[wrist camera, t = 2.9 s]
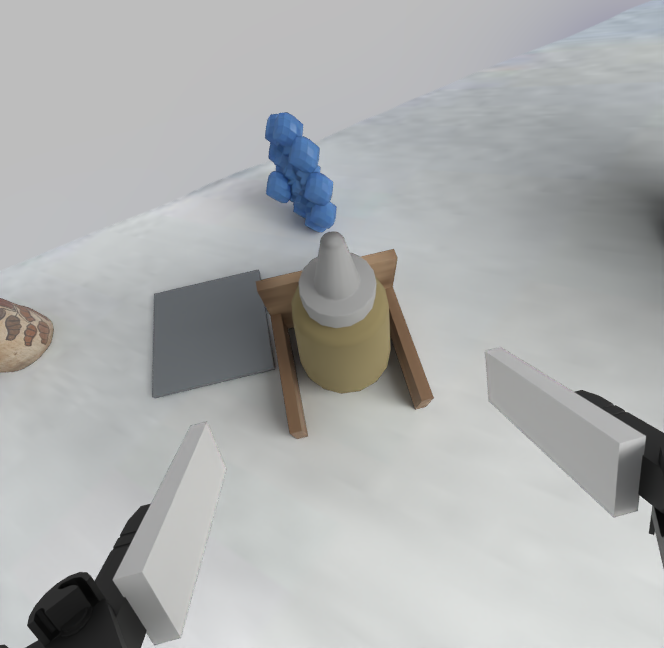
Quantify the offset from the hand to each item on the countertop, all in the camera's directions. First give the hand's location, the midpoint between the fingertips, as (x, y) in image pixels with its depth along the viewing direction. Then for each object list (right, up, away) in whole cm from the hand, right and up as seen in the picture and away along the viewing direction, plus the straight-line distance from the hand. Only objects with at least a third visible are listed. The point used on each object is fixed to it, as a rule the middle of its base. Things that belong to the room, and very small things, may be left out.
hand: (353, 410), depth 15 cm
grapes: (-5, +17, +26) cm, 31 cm away
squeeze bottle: (0, 0, +17) cm, 17 cm away
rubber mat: (-14, +3, +20) cm, 24 cm away
